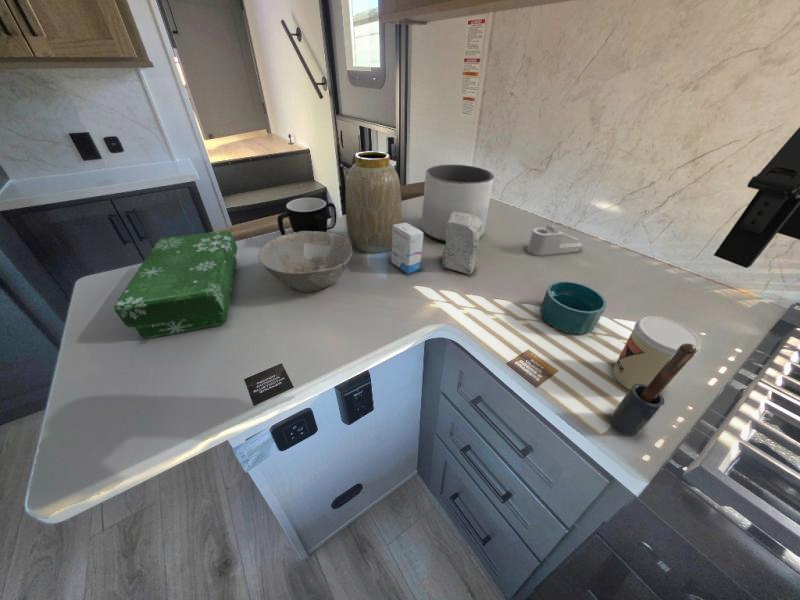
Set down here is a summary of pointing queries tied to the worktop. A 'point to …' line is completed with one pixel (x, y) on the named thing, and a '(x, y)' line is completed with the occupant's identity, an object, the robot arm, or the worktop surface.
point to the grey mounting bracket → (551, 241)
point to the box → (181, 285)
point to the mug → (308, 215)
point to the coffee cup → (651, 349)
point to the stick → (668, 372)
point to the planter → (454, 196)
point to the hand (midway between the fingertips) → (764, 248)
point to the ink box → (407, 247)
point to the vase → (372, 201)
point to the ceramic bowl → (307, 259)
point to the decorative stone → (461, 242)
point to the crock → (635, 411)
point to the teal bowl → (572, 307)
